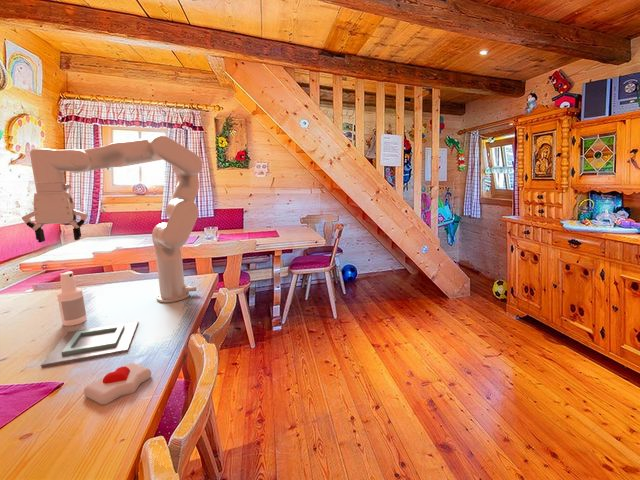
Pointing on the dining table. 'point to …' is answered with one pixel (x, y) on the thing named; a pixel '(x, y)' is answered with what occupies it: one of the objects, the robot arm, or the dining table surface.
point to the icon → (117, 383)
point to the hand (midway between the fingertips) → (59, 240)
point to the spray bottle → (71, 301)
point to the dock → (92, 343)
